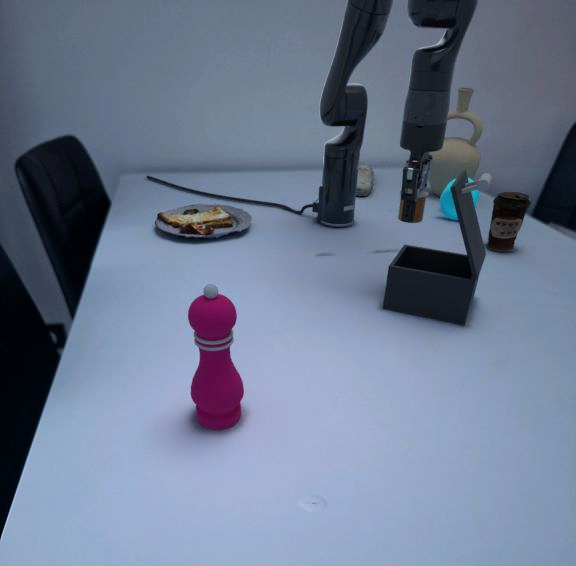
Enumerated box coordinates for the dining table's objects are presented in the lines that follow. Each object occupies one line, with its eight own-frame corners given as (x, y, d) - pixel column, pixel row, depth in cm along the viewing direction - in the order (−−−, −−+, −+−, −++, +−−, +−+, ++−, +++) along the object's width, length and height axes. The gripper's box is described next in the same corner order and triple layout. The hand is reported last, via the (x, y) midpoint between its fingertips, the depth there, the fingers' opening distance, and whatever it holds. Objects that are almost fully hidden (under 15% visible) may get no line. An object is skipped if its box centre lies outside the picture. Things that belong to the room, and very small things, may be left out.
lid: (449, 187, 87) (483, 176, 84) (461, 171, 97) (491, 161, 94) (473, 279, 93) (505, 272, 91) (481, 255, 103) (510, 248, 100)
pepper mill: (194, 401, 78) (182, 272, 66) (244, 399, 78) (240, 272, 67) (191, 433, 72) (177, 298, 60) (245, 431, 72) (241, 297, 61)
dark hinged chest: (382, 308, 103) (388, 266, 98) (398, 284, 113) (404, 244, 108) (464, 325, 99) (475, 281, 93) (473, 298, 108) (483, 257, 103)
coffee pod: (393, 221, 100) (397, 193, 97) (399, 214, 104) (403, 187, 101) (420, 225, 99) (425, 197, 96) (426, 217, 103) (430, 191, 100)
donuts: (435, 218, 150) (442, 182, 144) (441, 209, 158) (447, 174, 152) (472, 224, 147) (480, 186, 141) (475, 214, 155) (483, 178, 149)
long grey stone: (342, 200, 167) (374, 203, 167) (344, 183, 164) (377, 186, 164) (344, 167, 195) (371, 170, 194) (346, 152, 191) (373, 155, 191)
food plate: (171, 249, 127) (169, 234, 125) (145, 220, 143) (143, 207, 141) (265, 234, 136) (265, 220, 134) (231, 209, 153) (230, 196, 151)
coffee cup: (520, 256, 128) (535, 201, 121) (484, 252, 129) (497, 198, 122) (514, 243, 135) (529, 191, 128) (481, 240, 136) (493, 188, 129)
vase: (478, 193, 173) (502, 88, 156) (463, 205, 161) (486, 93, 144) (429, 185, 180) (447, 84, 163) (411, 196, 169) (427, 88, 151)
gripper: (412, 112, 98) (399, 205, 108) (393, 122, 87) (381, 225, 97) (453, 115, 96) (437, 210, 105) (439, 126, 85) (422, 231, 95)
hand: (410, 217), depth 101 cm, fingers closed on coffee pod, 5 cm apart
